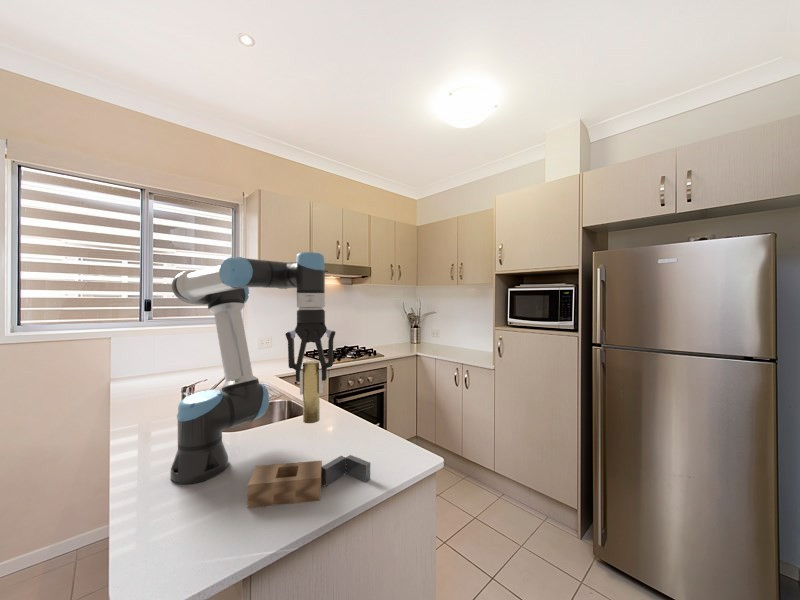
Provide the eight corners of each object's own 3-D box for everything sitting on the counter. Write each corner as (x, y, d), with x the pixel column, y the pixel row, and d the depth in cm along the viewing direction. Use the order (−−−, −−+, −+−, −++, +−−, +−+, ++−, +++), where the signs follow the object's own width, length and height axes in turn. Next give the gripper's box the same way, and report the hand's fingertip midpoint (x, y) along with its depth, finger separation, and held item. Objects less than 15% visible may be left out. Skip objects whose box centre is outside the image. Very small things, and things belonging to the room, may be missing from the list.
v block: (320, 487, 91) (321, 469, 91) (321, 473, 98) (322, 457, 98) (370, 482, 94) (370, 465, 94) (368, 469, 101) (368, 453, 101)
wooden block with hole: (247, 508, 82) (247, 484, 82) (256, 487, 91) (256, 466, 91) (320, 500, 85) (320, 477, 85) (321, 480, 94) (321, 460, 94)
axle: (302, 423, 87) (301, 364, 87) (304, 417, 91) (304, 361, 91) (318, 422, 87) (318, 364, 87) (320, 416, 92) (319, 361, 92)
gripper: (275, 309, 84) (275, 398, 84) (342, 308, 87) (342, 395, 87) (281, 308, 91) (281, 390, 92) (343, 308, 94) (343, 387, 94)
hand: (311, 392), depth 89 cm, fingers closed on axle, 4 cm apart
